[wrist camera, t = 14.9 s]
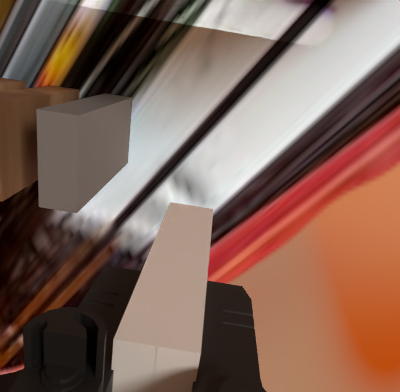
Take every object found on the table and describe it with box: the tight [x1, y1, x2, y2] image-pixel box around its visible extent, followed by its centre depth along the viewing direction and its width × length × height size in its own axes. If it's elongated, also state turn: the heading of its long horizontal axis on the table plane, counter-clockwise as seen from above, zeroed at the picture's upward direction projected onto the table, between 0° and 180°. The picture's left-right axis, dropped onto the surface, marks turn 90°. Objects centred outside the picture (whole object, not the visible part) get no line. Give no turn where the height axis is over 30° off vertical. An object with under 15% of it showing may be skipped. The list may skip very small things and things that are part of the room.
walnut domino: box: [0, 86, 79, 201], centre depth 22 cm, size 2×5×10 cm, turn 172°
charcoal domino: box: [36, 93, 132, 213], centre depth 22 cm, size 2×5×10 cm, turn 172°
